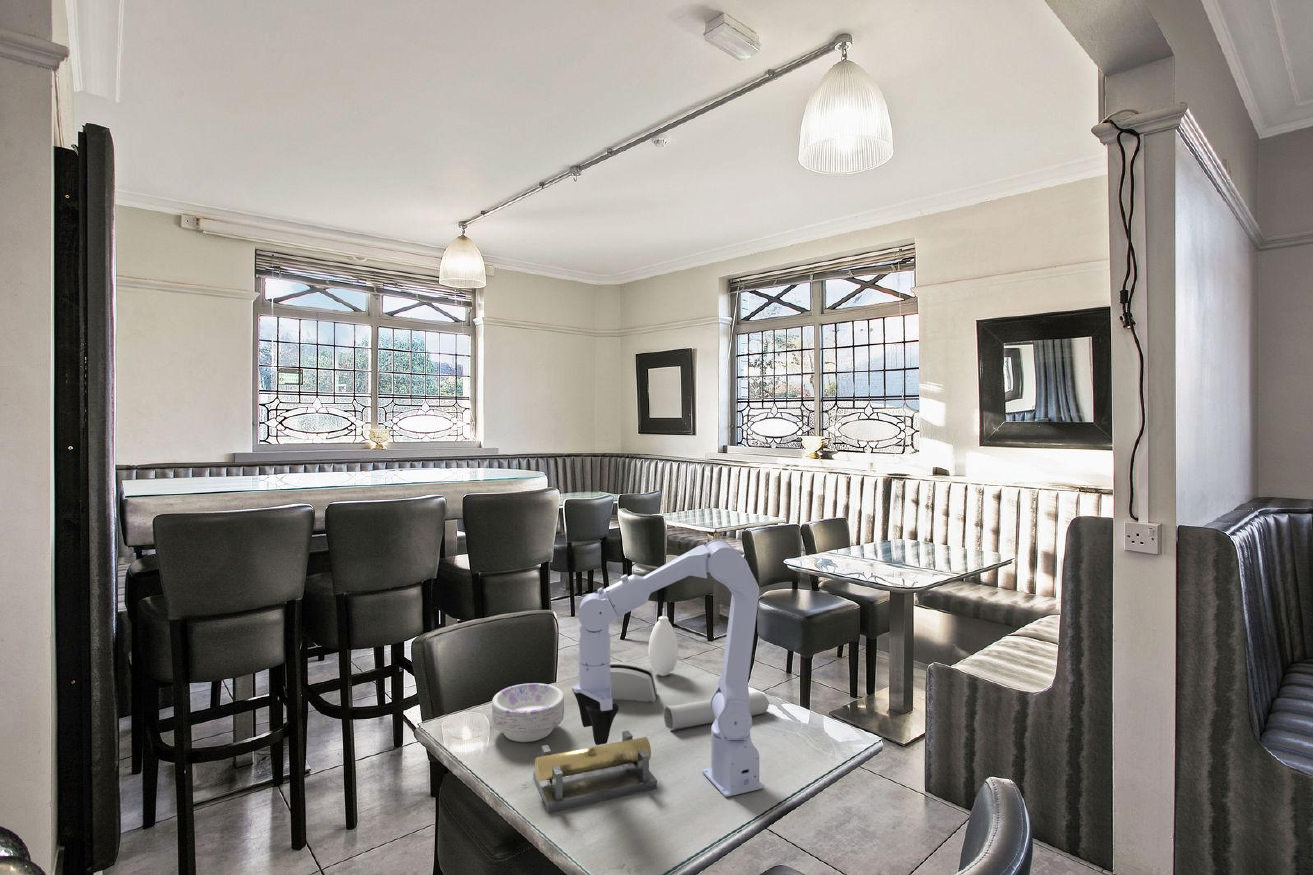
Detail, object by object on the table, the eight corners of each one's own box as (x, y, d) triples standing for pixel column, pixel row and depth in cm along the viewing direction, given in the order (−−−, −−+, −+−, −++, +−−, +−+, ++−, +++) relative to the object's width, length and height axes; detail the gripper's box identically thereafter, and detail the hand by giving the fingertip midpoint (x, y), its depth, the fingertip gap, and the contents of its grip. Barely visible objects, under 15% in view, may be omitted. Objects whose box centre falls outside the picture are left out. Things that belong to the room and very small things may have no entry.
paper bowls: (509, 757, 132) (509, 717, 132) (481, 729, 144) (481, 692, 144) (577, 736, 141) (577, 699, 141) (544, 711, 153) (544, 677, 153)
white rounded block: (658, 693, 164) (656, 660, 160) (655, 707, 159) (653, 673, 156) (592, 689, 166) (589, 656, 163) (588, 702, 162) (584, 669, 158)
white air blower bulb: (644, 671, 178) (644, 604, 178) (671, 668, 181) (671, 602, 181) (654, 681, 171) (654, 612, 171) (682, 678, 174) (682, 609, 174)
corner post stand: (657, 788, 120) (657, 755, 120) (548, 812, 113) (548, 777, 112) (633, 758, 131) (633, 728, 131) (533, 778, 124) (533, 746, 124)
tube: (759, 689, 157) (662, 704, 147) (771, 690, 152) (671, 706, 143) (762, 713, 155) (665, 730, 146) (774, 715, 151) (674, 732, 141)
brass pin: (643, 755, 128) (642, 733, 128) (651, 763, 124) (650, 741, 124) (535, 776, 120) (534, 753, 120) (540, 786, 116) (539, 762, 116)
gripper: (563, 651, 127) (563, 721, 127) (584, 677, 113) (584, 756, 114) (598, 646, 130) (598, 715, 130) (623, 671, 116) (623, 748, 116)
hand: (594, 734), depth 122 cm, fingers open, 7 cm apart
